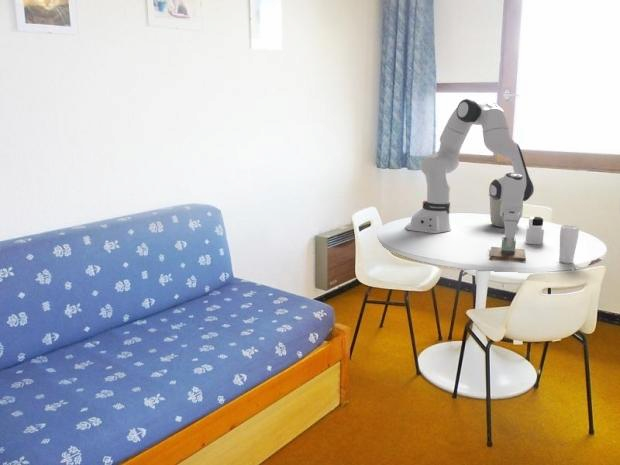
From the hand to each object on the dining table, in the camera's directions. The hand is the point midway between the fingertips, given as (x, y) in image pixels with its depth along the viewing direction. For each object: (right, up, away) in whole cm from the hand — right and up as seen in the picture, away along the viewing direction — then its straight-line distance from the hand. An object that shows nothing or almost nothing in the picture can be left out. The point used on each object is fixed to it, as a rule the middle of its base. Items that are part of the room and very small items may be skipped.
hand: (508, 243), depth 240 cm
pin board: (0, -5, +1) cm, 6 cm away
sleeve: (0, -4, +1) cm, 4 cm away
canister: (+17, +8, +53) cm, 56 cm away
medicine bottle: (+20, 0, +22) cm, 29 cm away
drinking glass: (+21, -8, -7) cm, 24 cm away
